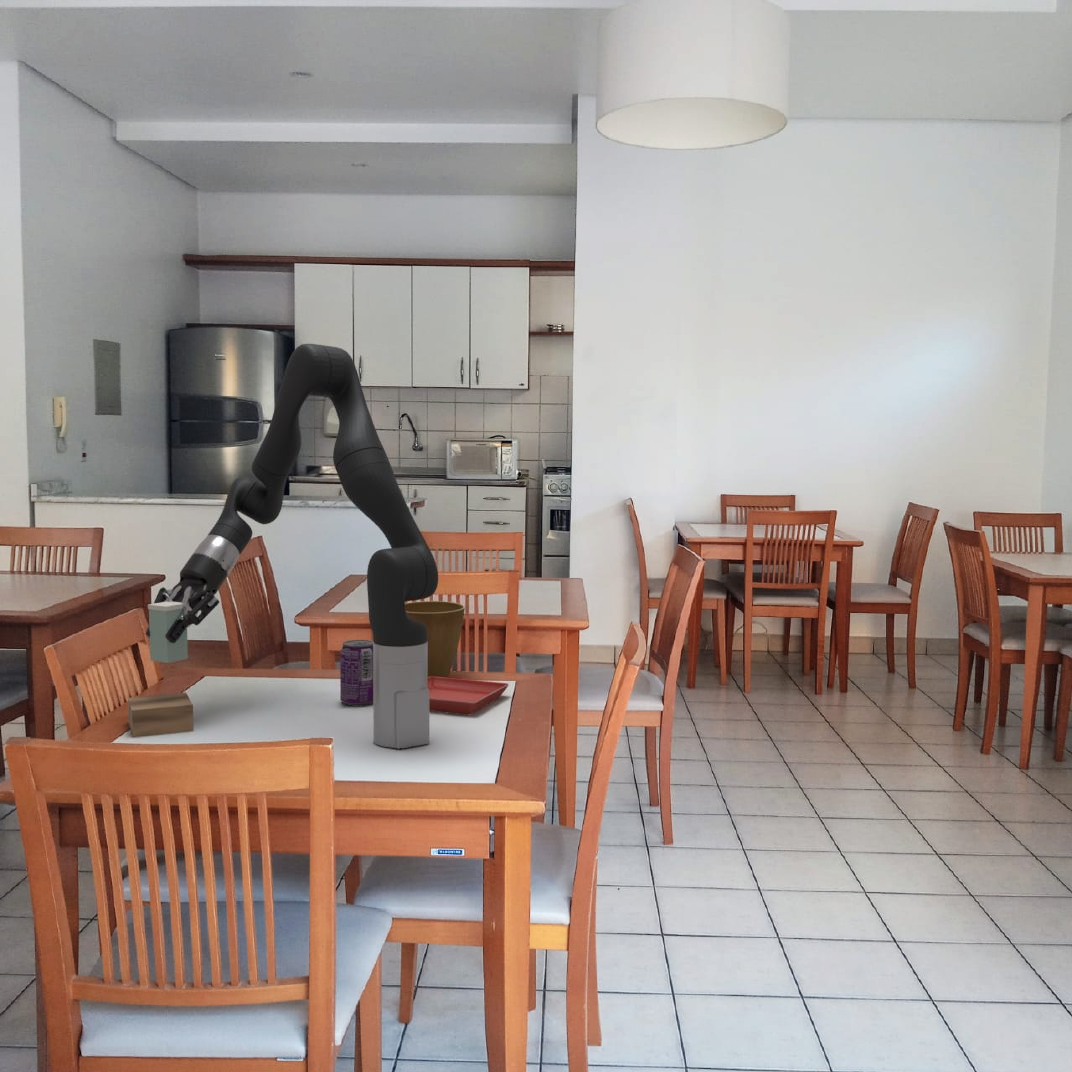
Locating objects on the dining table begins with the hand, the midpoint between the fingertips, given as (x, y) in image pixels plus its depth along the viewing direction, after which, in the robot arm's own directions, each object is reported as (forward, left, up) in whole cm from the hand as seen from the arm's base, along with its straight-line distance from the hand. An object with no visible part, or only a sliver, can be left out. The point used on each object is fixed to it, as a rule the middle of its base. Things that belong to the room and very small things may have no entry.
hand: (159, 638), depth 183 cm
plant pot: (+6, -59, -16) cm, 61 cm away
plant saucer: (-14, -52, -16) cm, 56 cm away
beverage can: (-4, -37, -16) cm, 40 cm away
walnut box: (0, 0, -16) cm, 16 cm away
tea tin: (+1, -2, -4) cm, 5 cm away
